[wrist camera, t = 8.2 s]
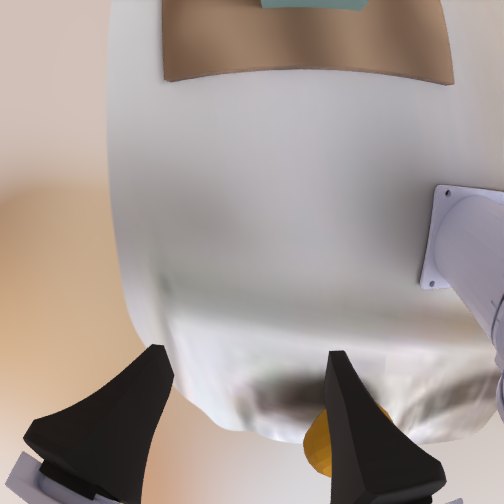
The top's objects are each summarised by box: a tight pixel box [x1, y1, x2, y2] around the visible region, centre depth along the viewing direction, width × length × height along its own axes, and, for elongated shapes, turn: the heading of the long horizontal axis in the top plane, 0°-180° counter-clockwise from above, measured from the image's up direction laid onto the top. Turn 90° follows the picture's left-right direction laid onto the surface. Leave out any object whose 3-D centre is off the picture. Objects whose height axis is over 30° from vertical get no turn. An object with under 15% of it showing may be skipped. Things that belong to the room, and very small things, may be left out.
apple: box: [303, 403, 394, 477], centre depth 22 cm, size 9×9×9 cm
